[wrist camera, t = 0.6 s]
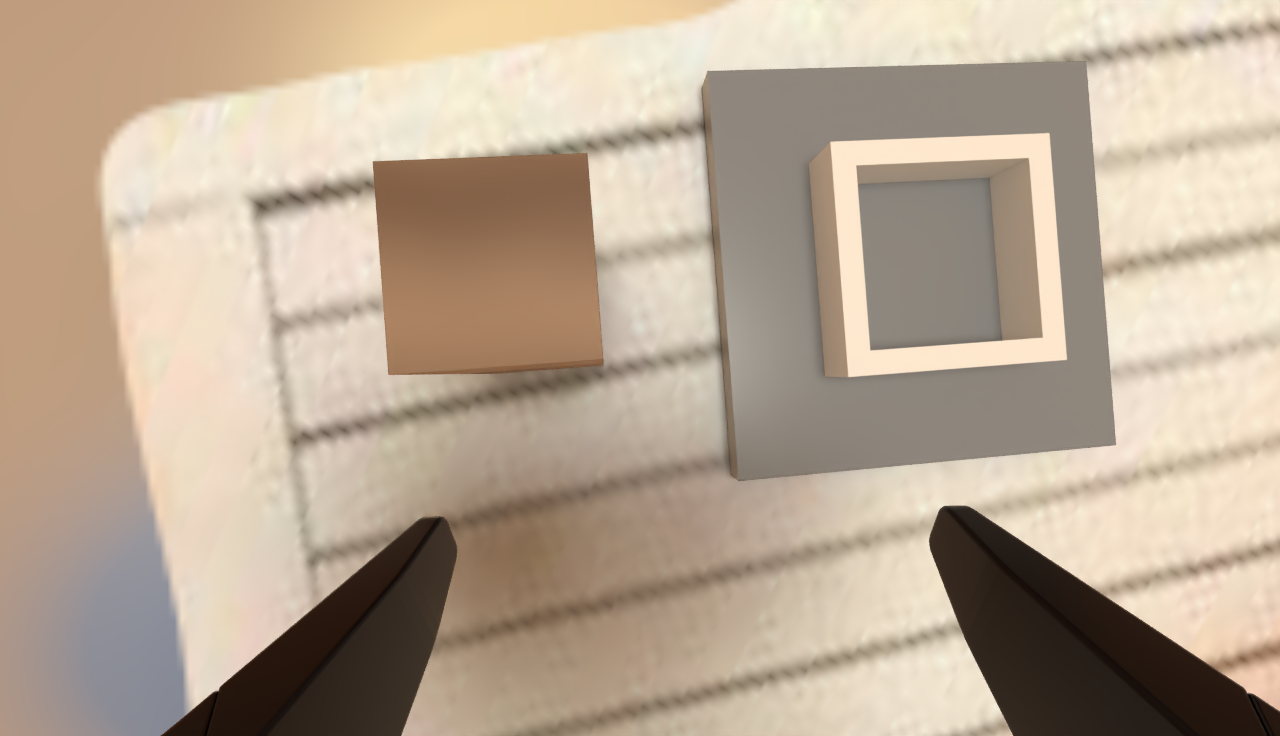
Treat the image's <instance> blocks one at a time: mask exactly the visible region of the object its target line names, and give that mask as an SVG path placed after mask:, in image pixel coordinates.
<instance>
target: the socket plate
mask: <svg viewBox="0 0 1280 736" xmlns="http://www.w3.org/2000/svg"><path fill="white" fill-rule="evenodd" d="M702 95H703V109H704V122H705V135H706V148H707V161H708V175H709V188H710V201H711V214H712V227H713V241H714V254H715V267H716V280H717V293H718V307H719V320H720V333H721V346H722V360H723V373H724V386H725V399H726V412H727V426H728V439H729V452H730V465H731V475H732V476H733V477H734V478H736V479H737V480H738V481H744V480H754V479H765V478H775V477H786V476H796V475H807V474H817V473H828V472H838V471H849V470H859V469H870V468H880V467H891V466H901V465H912V464H922V463H933V462H943V461H954V460H964V459H975V458H985V457H996V456H1006V455H1017V454H1027V453H1038V452H1048V451H1059V450H1069V449H1080V448H1090V447H1101V446H1112V445H1116V439H1115V426H1114V413H1113V400H1112V388H1111V375H1110V362H1109V349H1108V336H1107V323H1106V310H1105V298H1104V285H1103V272H1102V259H1101V246H1100V233H1099V220H1098V208H1097V195H1096V182H1095V169H1094V156H1093V143H1092V130H1091V118H1090V105H1089V92H1088V79H1087V66H1086V61H1070V62H1032V63H995V64H957V65H919V66H882V67H844V68H807V69H769V70H731V71H707V74H706V77H705V80H704V83H703V86H702Z"/></svg>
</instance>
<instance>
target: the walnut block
mask: <svg viewBox="0 0 1280 736" xmlns="http://www.w3.org/2000/svg"><path fill="white" fill-rule="evenodd" d="M373 170H374V184H375V198H376V211H377V225H378V238H379V252H380V266H381V279H382V293H383V306H384V320H385V334H386V347H387V361H388V374H389V375H413V374H493V373H506V372H520V371H533V370H547V369H560V368H574V367H587V366H601V365H603V352H602V339H601V325H600V312H599V299H598V285H597V272H596V259H595V246H594V233H593V220H592V207H591V194H590V181H589V168H588V155H587V153H578V154H552V155H527V156H501V157H476V158H450V159H425V160H399V161H374V162H373Z"/></svg>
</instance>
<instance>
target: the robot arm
mask: <svg viewBox="0 0 1280 736" xmlns="http://www.w3.org/2000/svg"><path fill="white" fill-rule="evenodd" d="M929 545H930V550H931V553H932V555H933V558H934V561H935V563H936V566H937V568H938V571H939V574H940V576H941V579H942V581H943V584H944V587H945V589H946V592H947V595H948V597H949V600H950V602H951V605H952V608H953V610H954V613H955V615H956V618H957V621H958V623H959V626H960V628H961V630H962V633H963V635H964V638H965V640H966V642H967V644H968V646H969V648H970V650H971V652H972V654H973V656H974V658H975V660H976V662H977V664H978V666H979V668H980V670H981V672H982V674H983V676H984V678H985V680H986V682H987V684H988V686H989V688H990V690H991V692H992V694H993V696H994V698H995V700H996V702H997V704H998V706H999V708H1000V710H1001V712H1002V714H1003V716H1004V718H1005V720H1006V722H1007V724H1008V726H1009V728H1010V730H1011V732H1012V734H1013V736H1280V711H1279V710H1277V709H1275V708H1274V707H1272V706H1271V705H1269V704H1268V703H1266V702H1265V701H1263V700H1262V699H1260V698H1259V697H1257V696H1256V695H1254V694H1252V693H1247V692H1246V690H1245V689H1244V688H1243V687H1242V686H1240V685H1239V684H1237V683H1236V682H1234V681H1233V680H1231V679H1230V678H1228V677H1227V676H1225V675H1224V674H1222V673H1221V672H1219V671H1218V670H1216V669H1215V668H1213V667H1212V666H1210V665H1209V664H1207V663H1206V662H1204V661H1203V660H1201V659H1199V658H1198V657H1196V656H1195V655H1193V654H1192V653H1190V652H1189V651H1187V650H1186V649H1184V648H1183V647H1181V646H1180V645H1178V644H1177V643H1175V642H1174V641H1172V640H1171V639H1169V638H1168V637H1166V636H1165V635H1163V634H1162V633H1160V632H1159V631H1157V630H1156V629H1154V628H1153V627H1151V626H1150V625H1148V624H1147V623H1145V622H1143V621H1142V620H1140V619H1139V618H1137V617H1136V616H1134V615H1133V614H1131V613H1130V612H1128V611H1127V610H1125V609H1124V608H1122V607H1121V606H1119V605H1118V604H1116V603H1115V602H1113V601H1112V600H1110V599H1109V598H1107V597H1106V596H1104V595H1103V594H1101V593H1100V592H1098V591H1097V590H1095V589H1094V588H1092V587H1091V586H1089V585H1087V584H1086V583H1084V582H1083V581H1081V580H1080V579H1078V578H1077V577H1075V576H1074V575H1072V574H1071V573H1069V572H1068V571H1066V570H1065V569H1063V568H1062V567H1060V566H1059V565H1057V564H1056V563H1054V562H1053V561H1051V560H1050V559H1048V558H1047V557H1045V556H1044V555H1042V554H1041V553H1039V552H1038V551H1036V550H1035V549H1033V548H1031V547H1030V546H1028V545H1027V544H1025V543H1024V542H1022V541H1021V540H1019V539H1018V538H1016V537H1015V536H1013V535H1012V534H1010V533H1009V532H1007V531H1006V530H1004V529H1003V528H1001V527H1000V526H998V525H997V524H995V523H994V522H992V521H991V520H989V519H988V518H986V517H985V516H983V515H982V514H980V513H978V512H977V511H975V510H974V509H972V508H970V507H968V506H944V507H942V508H941V509H940V510H939V512H938V515H937V517H936V520H935V523H934V526H933V528H932V531H931V534H930V538H929ZM456 558H457V545H456V542H455V540H454V537H453V534H452V532H451V529H450V527H449V524H448V522H447V520H446V519H445V518H444V517H441V516H439V517H423V518H421V519H419V520H418V521H416V522H415V523H414V524H413V525H412V526H411V527H409V528H408V529H407V530H406V531H405V532H403V533H402V534H401V535H400V536H399V537H397V538H396V539H395V540H394V541H393V542H392V543H390V544H389V545H388V546H387V547H386V548H384V549H383V550H382V551H381V552H380V553H378V554H377V555H376V556H375V557H374V558H373V559H371V560H370V561H369V562H368V563H367V564H365V565H364V566H363V567H362V568H361V569H359V570H358V571H357V572H356V573H355V574H353V575H352V576H351V577H350V578H349V579H348V580H346V581H345V582H344V583H343V584H342V585H340V586H339V587H338V588H337V589H336V590H334V591H333V592H332V593H331V594H330V595H329V596H327V597H326V598H325V599H324V600H323V601H321V602H320V603H319V604H318V605H317V606H315V607H314V608H313V609H312V610H311V611H310V612H308V613H307V614H306V615H305V616H304V617H302V618H301V619H300V620H299V621H298V622H296V623H295V624H294V625H293V626H292V627H290V628H289V629H288V630H287V631H286V632H285V633H283V634H282V635H281V636H280V637H279V638H277V639H276V640H275V641H274V642H273V643H271V644H270V645H269V646H268V647H267V648H266V649H264V650H263V651H262V652H261V653H260V654H258V655H257V656H256V657H255V658H254V659H252V660H251V661H250V662H249V663H248V664H247V665H245V666H244V667H243V668H242V669H241V670H239V671H238V672H237V673H236V674H235V675H233V676H232V677H231V678H230V679H229V680H227V681H226V682H225V683H224V684H223V685H222V686H221V687H220V689H219V691H215V692H213V693H212V694H211V695H209V696H208V697H207V698H206V699H205V700H203V701H202V702H201V703H200V704H199V705H198V706H196V707H195V708H194V709H193V710H192V711H190V712H189V713H188V714H187V715H186V716H184V717H183V718H182V719H181V720H180V721H178V722H177V723H176V724H175V725H173V726H172V727H171V728H170V729H169V730H167V731H166V732H165V733H164V734H162V735H161V736H401V735H402V732H403V729H404V727H405V724H406V721H407V718H408V716H409V713H410V710H411V707H412V704H413V702H414V699H415V696H416V693H417V691H418V688H419V685H420V682H421V680H422V677H423V674H424V671H425V669H426V666H427V663H428V660H429V658H430V655H431V652H432V649H433V646H434V643H435V640H436V636H437V633H438V629H439V626H440V622H441V618H442V614H443V610H444V606H445V602H446V598H447V594H448V590H449V586H450V582H451V578H452V574H453V570H454V566H455V562H456Z"/></svg>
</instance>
